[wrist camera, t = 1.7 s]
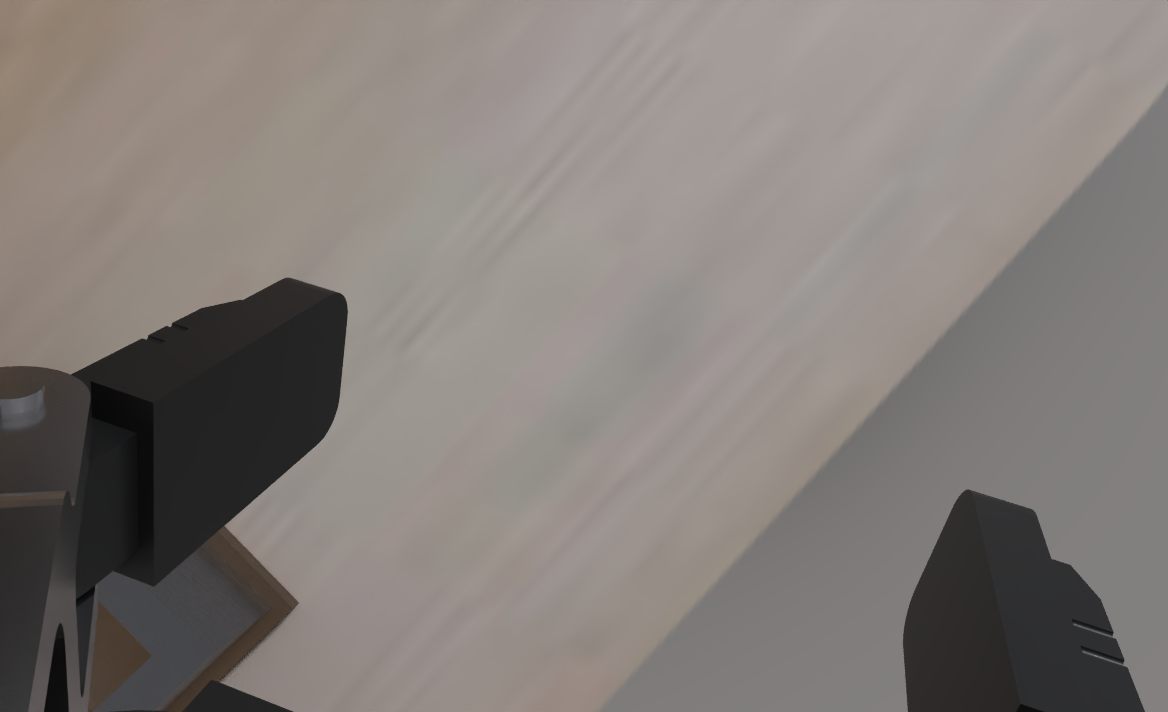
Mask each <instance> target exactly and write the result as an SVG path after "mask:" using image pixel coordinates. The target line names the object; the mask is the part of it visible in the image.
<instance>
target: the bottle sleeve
mask: <svg viewBox="0 0 1168 712" xmlns="http://www.w3.org/2000/svg"><path fill="white" fill-rule="evenodd" d="M97 584H98V613H97V623H96V633H95V643H94V653H93V663H92V673H91V683H90V693H89V703H88V712H114V711H131V710H151V711H171V712H182V711H183V710H184V709H185V708H186V707H187V706H188V705H189V704H190V702H191V701H192V700H193V699H194V698H195V697H196V696H197V695H198V694H199V693H200V692H201V690H202V689H203V688H204V687H205V686H206V685H207V684H208V683H209V682H210V681H211V679H212V680H214V681H217V682H218V681H219V680H220V679H221V678H222V677H223V676H224V675H225V674H226V673H227V672H228V671H229V670H230V669H231V668H232V667H233V666H234V665H235V664H236V663H237V662H238V661H239V660H240V659H241V658H242V657H243V656H245V655H246V654H247V653H248V652H249V651H250V650H251V649H252V648H253V647H254V646H255V645H256V644H257V643H258V642H259V641H260V640H261V639H262V638H263V637H264V636H265V635H266V634H267V633H268V632H269V631H270V630H272V629H273V628H274V627H275V626H276V625H277V624H278V623H279V622H280V621H281V620H282V619H283V618H284V617H285V616H286V615H287V614H288V613H289V612H290V611H291V610H292V609H293V608H294V607H295V606H296V605H297V604H298V602H297V600H296V599H295V598H294V597H293V596H292V595H291V594H290V593H289V592H288V591H287V590H286V589H285V588H284V587H283V586H282V585H281V584H280V583H279V582H278V581H277V580H276V579H275V578H274V577H273V576H272V575H271V574H270V573H269V572H268V571H267V570H266V569H265V568H264V567H263V566H262V564H261V563H260V562H259V561H258V560H257V559H256V558H255V557H254V556H253V555H252V554H251V553H250V552H249V551H248V550H247V549H246V548H245V547H244V546H243V545H242V544H241V543H240V542H239V541H238V540H237V539H236V538H235V537H234V536H233V535H232V534H231V533H230V532H229V531H228V529H227V528H226V527H225V526H223V527H222V528H221V529H220V530H219V531H218V532H216V533H215V534H214V535H213V536H212V537H211V538H210V539H208V540H207V541H206V542H205V543H204V544H203V545H202V546H200V547H199V548H198V549H197V550H196V551H195V552H194V553H192V554H191V555H190V556H189V557H188V558H187V559H185V560H184V561H183V562H182V563H181V564H180V565H179V566H177V567H176V568H175V569H174V570H173V571H172V572H171V573H169V574H168V575H167V576H166V577H165V578H164V579H163V580H161V581H160V582H159V583H158V584H157V585H156V586H155V587H153V586H151V585H148V584H145V583H143V582H140V581H137V580H135V579H132V578H130V577H127V576H124V575H122V574H119V573H116V572H114V571H112V572H111V573H110V574H108V575H107V576H106V577H105V578H104V579H102V580H101V581H100V582H99V583H97Z"/></svg>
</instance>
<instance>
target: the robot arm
mask: <svg viewBox="0 0 1168 712" xmlns="http://www.w3.org/2000/svg"><path fill="white" fill-rule="evenodd" d="M347 314H348V310H347V302H346V299H345V297H344V296H343V295H342V294H341V293H338V292H334V291H331V290H328V289H325V288H322V287H318V286H315V285H312V284H309V283H305V282H302V281H299V280H296V279H293V278H284V279H282V280H280V281H278V282H276V283H274V284H272V285H271V286H269V287H267V288H265V289H263V290H261V291H259V292H257V293H255V294H254V295H252V296H250V297H248V298H246V299H244V300H238V301H233V302H228V303H224V304H219V305H214V306H210V307H205V308H201V309H199V310H197V311H195V312H193V313H191V314H189V315H187V316H185V317H183V318H181V319H179V320H177V321H175V322H173V323H172V326H171V327H168V326H166V327H164V328H162V329H160V330H158V331H156V332H154V333H152V334H150V335H148V338H147V340H145V339H140V340H138V341H136V342H134V343H132V344H130V345H128V346H126V347H124V348H122V349H120V350H118V351H116V352H115V353H113V354H111V355H109V356H107V357H105V358H103V359H101V360H99V361H97V362H95V363H93V364H91V365H89V366H87V367H85V368H83V369H81V370H79V371H77V372H75V373H73V374H71V375H70V374H68V373H64V372H61V371H58V370H53V369H48V368H41V367H29V366H12V367H0V712H88V703H89V693H90V683H91V673H92V663H93V653H94V643H95V633H96V623H97V613H98V584H97V583H99V582H100V581H101V580H102V579H104V578H105V577H106V576H107V575H108V574H110V573H111V572H112V571H114V572H116V573H119V574H122V575H124V576H127V577H130V578H132V579H135V580H137V581H140V582H143V583H145V584H148V585H151V586H153V587H155V586H156V585H157V584H158V583H159V582H160V581H161V580H163V579H164V578H165V577H166V576H167V575H168V574H169V573H171V572H172V571H173V570H174V569H175V568H176V567H177V566H179V565H180V564H181V563H182V562H183V561H184V560H185V559H187V558H188V557H189V556H190V555H191V554H192V553H194V552H195V551H196V550H197V549H198V548H199V547H200V546H202V545H203V544H204V543H205V542H206V541H207V540H208V539H210V538H211V537H212V536H213V535H214V534H215V533H216V532H218V531H219V530H220V529H221V528H222V527H223V526H224V525H226V524H227V523H228V522H229V521H230V520H231V519H232V518H234V517H235V516H236V515H237V514H238V513H239V512H241V511H242V510H243V509H244V508H245V507H246V506H247V505H249V504H250V503H251V502H252V501H253V500H254V499H255V498H257V497H258V496H259V495H260V494H261V493H262V492H263V491H265V490H266V489H267V488H268V487H269V486H270V485H271V484H273V483H274V482H275V481H276V480H277V479H278V478H280V477H281V476H282V475H283V474H284V473H285V472H286V471H288V470H289V469H290V468H291V467H292V466H293V465H294V464H296V463H297V462H298V461H299V460H300V459H301V458H302V457H304V456H305V455H306V454H307V453H308V452H309V451H310V450H312V449H313V448H314V447H315V446H316V445H317V444H318V443H319V442H320V441H321V440H322V439H323V438H324V437H325V435H326V433H327V432H328V430H329V428H330V427H331V424H332V422H333V420H334V417H335V415H336V411H337V408H338V404H339V397H340V387H341V377H342V367H343V357H344V346H345V336H346V326H347ZM1112 635H1113V630H1112V627H1111V625H1110V622H1109V620H1108V617H1107V615H1106V612H1105V609H1104V607H1103V604H1102V602H1101V599H1100V598H1099V597H1098V596H1097V595H1096V594H1095V593H1094V591H1093V590H1092V589H1091V588H1090V587H1089V586H1088V585H1087V584H1086V582H1085V581H1084V580H1083V579H1082V578H1081V577H1080V575H1078V573H1077V572H1076V571H1075V570H1074V569H1073V568H1072V566H1071V565H1069V564H1065V563H1062V562H1059V561H1056V560H1052V559H1051V557H1050V554H1049V551H1048V548H1047V545H1046V542H1045V539H1044V536H1043V533H1042V530H1041V527H1040V524H1039V521H1038V518H1037V515H1036V513H1035V512H1034V511H1033V510H1032V509H1029V508H1026V507H1023V506H1020V505H1017V504H1013V503H1010V502H1007V501H1004V500H1000V499H997V498H994V497H991V496H987V495H984V494H981V493H978V492H975V491H971V490H965V491H964V492H963V493H962V494H961V495H960V496H959V498H958V499H957V501H956V502H955V504H954V506H953V508H952V510H951V513H950V515H949V517H948V519H947V521H946V523H945V526H944V528H943V530H942V532H941V534H940V537H939V539H938V541H937V543H936V545H935V547H934V550H933V552H932V554H931V556H930V558H929V560H928V563H927V565H926V567H925V569H924V572H923V573H922V576H921V578H920V580H919V582H918V584H917V587H916V589H915V591H914V593H913V596H912V599H911V602H910V605H909V608H908V612H907V616H906V621H905V626H904V634H903V648H904V663H905V677H906V690H907V703H908V704H907V705H908V712H1145V711H1144V708H1143V706H1142V703H1141V701H1140V698H1139V696H1138V693H1137V691H1136V688H1135V686H1134V683H1133V681H1132V678H1131V675H1130V673H1129V670H1128V668H1127V667H1125V666H1123V662H1124V658H1123V655H1122V653H1121V650H1120V647H1119V645H1118V642H1117V640H1116V639H1114V638H1112ZM114 712H171V711H151V710H131V711H114ZM182 712H293V711H290V710H287V709H285V708H282V707H280V706H277V705H275V704H272V703H270V702H267V701H265V700H262V699H260V698H257V697H255V696H252V695H249V694H247V693H244V692H242V691H239V690H237V689H234V688H232V687H229V686H227V685H224V684H222V683H219V682H217V681H214V680H212V679H211V681H210V682H209V683H208V684H207V685H206V686H205V687H204V688H203V689H202V690H201V692H200V693H199V694H198V695H197V696H196V697H195V698H194V699H193V700H192V701H191V702H190V704H189V705H188V706H187V707H186V708H185V709H184V710H183V711H182Z"/></svg>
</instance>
